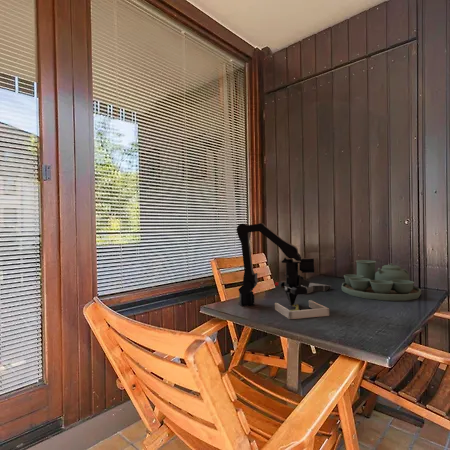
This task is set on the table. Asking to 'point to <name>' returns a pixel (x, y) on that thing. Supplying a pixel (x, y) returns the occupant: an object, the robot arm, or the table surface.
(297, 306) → the key
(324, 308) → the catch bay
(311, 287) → the toy hammer
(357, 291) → the tea set
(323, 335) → the table surface
